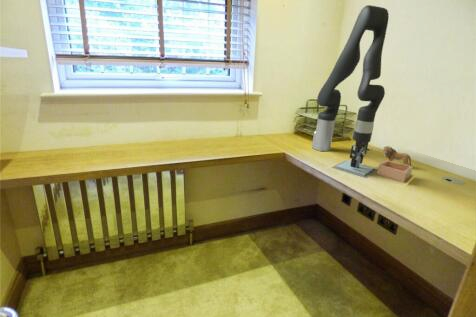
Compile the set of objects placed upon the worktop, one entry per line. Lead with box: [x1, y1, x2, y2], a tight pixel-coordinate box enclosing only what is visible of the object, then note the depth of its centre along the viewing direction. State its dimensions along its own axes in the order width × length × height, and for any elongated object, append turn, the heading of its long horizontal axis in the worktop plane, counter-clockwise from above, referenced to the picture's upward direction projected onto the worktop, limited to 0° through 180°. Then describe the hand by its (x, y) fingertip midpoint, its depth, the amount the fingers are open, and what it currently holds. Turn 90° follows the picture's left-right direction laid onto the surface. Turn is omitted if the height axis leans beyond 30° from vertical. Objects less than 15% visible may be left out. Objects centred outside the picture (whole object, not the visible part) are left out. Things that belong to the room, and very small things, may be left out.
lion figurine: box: [382, 145, 413, 166], centre depth 142 cm, size 15×5×9 cm, turn 66°
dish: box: [376, 159, 414, 183], centre depth 127 cm, size 11×11×5 cm
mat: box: [331, 160, 378, 179], centre depth 133 cm, size 16×16×1 cm
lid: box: [336, 156, 376, 176], centre depth 132 cm, size 13×13×6 cm
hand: (356, 165), depth 133 cm, fingers open, 7 cm apart
